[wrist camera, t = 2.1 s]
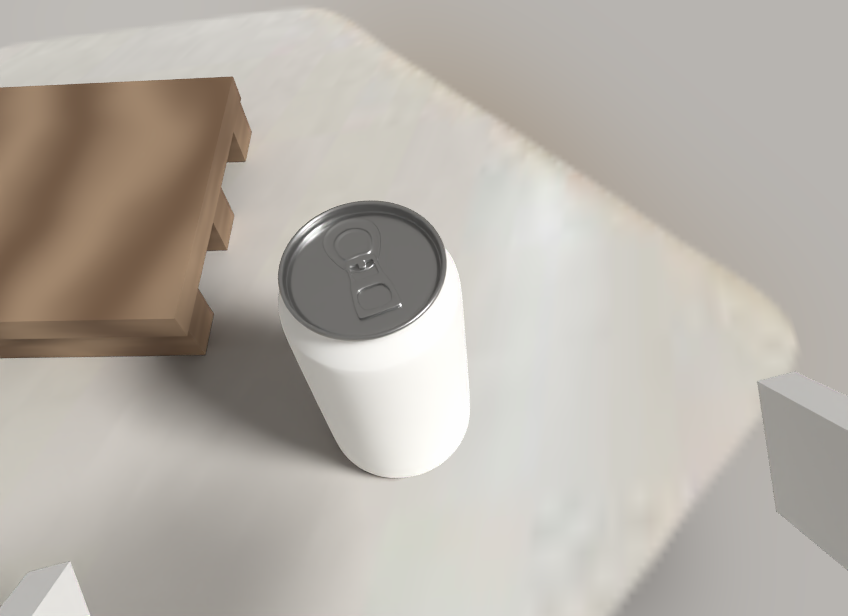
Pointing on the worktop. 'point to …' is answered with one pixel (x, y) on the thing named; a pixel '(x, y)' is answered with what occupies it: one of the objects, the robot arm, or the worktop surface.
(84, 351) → the platform
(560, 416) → the worktop surface
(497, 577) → the worktop surface
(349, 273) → the can
